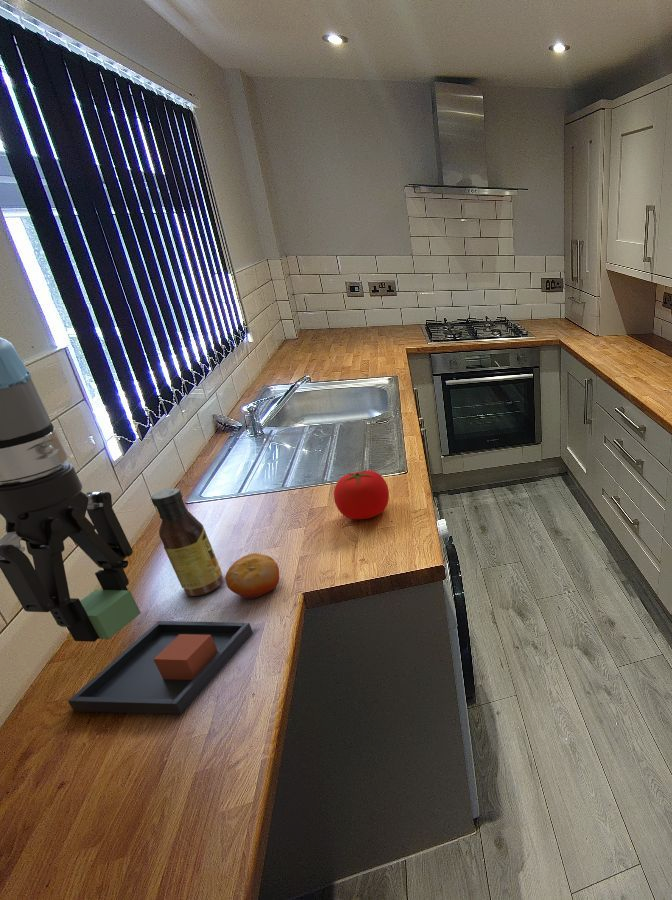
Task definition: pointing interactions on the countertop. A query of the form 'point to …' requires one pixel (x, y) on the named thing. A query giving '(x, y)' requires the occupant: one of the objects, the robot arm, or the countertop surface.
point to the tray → (157, 671)
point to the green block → (110, 611)
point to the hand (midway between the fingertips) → (106, 623)
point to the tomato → (361, 494)
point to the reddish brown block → (185, 656)
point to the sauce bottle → (186, 544)
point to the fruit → (252, 575)
